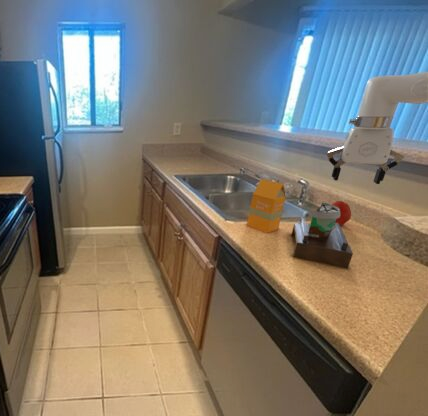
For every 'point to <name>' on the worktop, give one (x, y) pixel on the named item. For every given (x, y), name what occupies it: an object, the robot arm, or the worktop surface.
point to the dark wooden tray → (322, 246)
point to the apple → (342, 212)
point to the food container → (323, 221)
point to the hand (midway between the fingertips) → (355, 181)
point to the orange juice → (267, 206)
